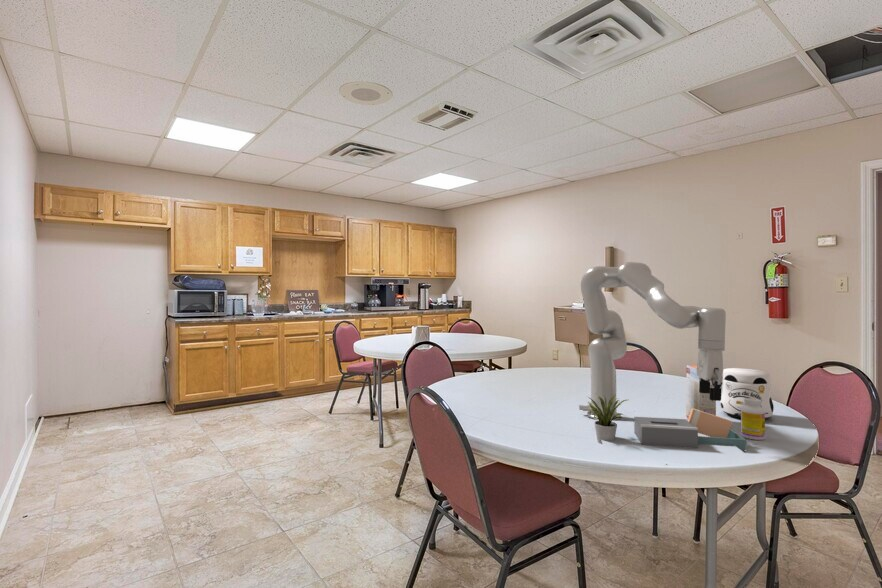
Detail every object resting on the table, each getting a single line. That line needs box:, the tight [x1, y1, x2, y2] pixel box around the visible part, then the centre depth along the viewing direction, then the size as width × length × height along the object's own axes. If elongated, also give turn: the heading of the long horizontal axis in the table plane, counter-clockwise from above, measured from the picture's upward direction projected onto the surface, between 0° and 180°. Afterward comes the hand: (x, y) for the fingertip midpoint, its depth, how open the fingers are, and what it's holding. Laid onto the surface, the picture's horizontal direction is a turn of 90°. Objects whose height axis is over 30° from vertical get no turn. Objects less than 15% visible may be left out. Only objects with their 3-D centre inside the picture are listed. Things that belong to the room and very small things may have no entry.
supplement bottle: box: [740, 398, 766, 441], centre depth 150 cm, size 7×7×13 cm
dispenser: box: [633, 416, 699, 449], centre depth 143 cm, size 16×12×8 cm
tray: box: [698, 428, 747, 451], centre depth 145 cm, size 14×14×4 cm
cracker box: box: [685, 364, 717, 419], centre depth 168 cm, size 14×6×21 cm, turn 168°
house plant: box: [587, 394, 628, 445], centre depth 146 cm, size 14×14×16 cm
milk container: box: [719, 367, 775, 420], centre depth 175 cm, size 17×17×18 cm
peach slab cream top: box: [687, 408, 733, 438], centre depth 145 cm, size 7×2×12 cm
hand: (709, 396), depth 146 cm, fingers open, 9 cm apart
